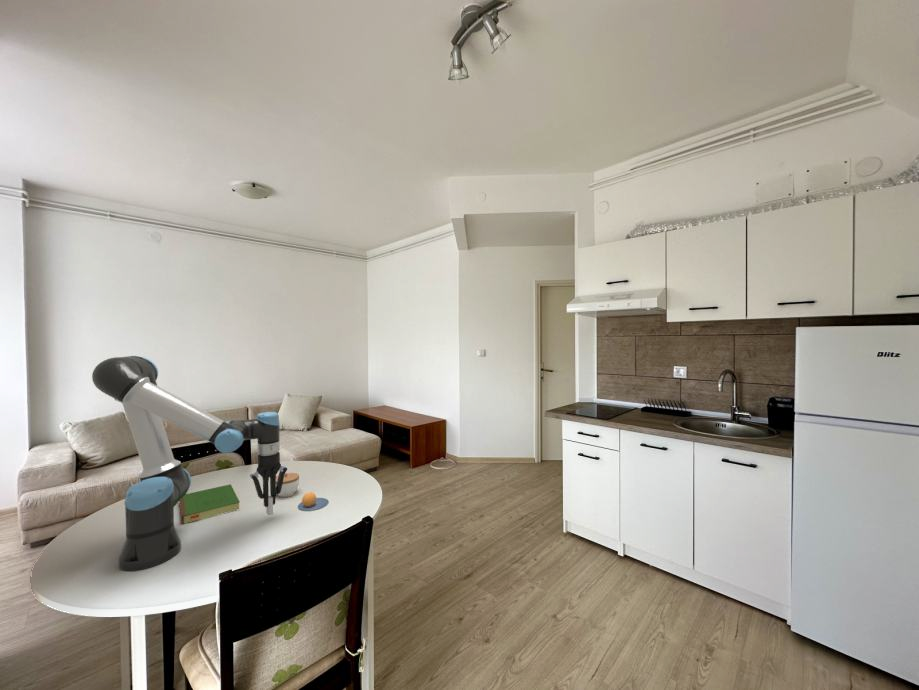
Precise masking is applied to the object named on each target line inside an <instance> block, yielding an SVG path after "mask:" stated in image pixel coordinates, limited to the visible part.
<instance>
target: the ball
mask: <svg viewBox="0 0 919 690" xmlns="http://www.w3.org/2000/svg"><path fill="white" fill-rule="evenodd" d="M316 498H317V496H316V493H313V492H311V491H310V492H306V493H305V494H303V496H302V499H301V502H302V503H303V505H304V506H306V507H310V506H312V505H314V503H315V502H316Z"/></svg>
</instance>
